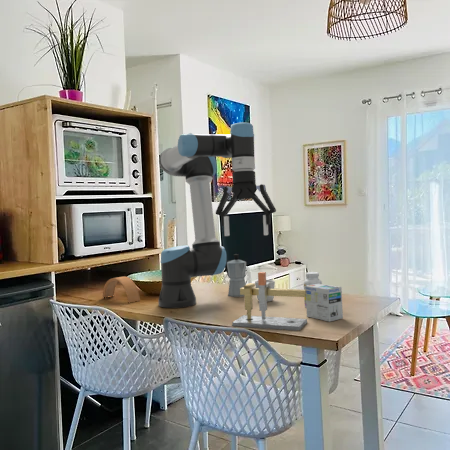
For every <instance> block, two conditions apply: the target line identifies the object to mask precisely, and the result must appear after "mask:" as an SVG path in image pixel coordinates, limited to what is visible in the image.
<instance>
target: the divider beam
mask: <svg viewBox="0 0 450 450" xmlns="http://www.w3.org/2000/svg"><path fill="white" fill-rule="evenodd" d="M266 289H267V296H274V297H293V298H294V297H295V298H304V297H306V296H307V295H306V290H304V289H299V288H298V289H294V288H291V289H289V288H274V289H269V288H266ZM240 295H244V296H243V297H244V310H245V311H246V315H247V319H251V316H252V310H253V309H254V306H253V305H254V304H253V300H254V299H253V296H257V295H259V288H256V286H255V282H254V283H253V282H250V283H246V285H244V288H240Z"/></svg>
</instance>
